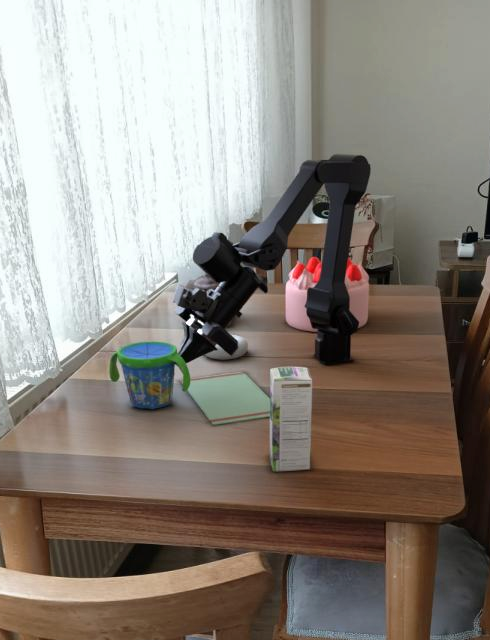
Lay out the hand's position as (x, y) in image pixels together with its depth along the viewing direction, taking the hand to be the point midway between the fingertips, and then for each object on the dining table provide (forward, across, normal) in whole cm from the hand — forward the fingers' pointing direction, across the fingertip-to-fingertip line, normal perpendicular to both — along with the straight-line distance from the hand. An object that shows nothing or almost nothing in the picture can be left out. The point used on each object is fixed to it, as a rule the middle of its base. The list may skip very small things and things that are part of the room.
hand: (176, 365), depth 141 cm
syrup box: (0, +33, +10) cm, 35 cm away
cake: (-30, -33, +39) cm, 59 cm away
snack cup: (+8, 0, +1) cm, 8 cm away
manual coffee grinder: (-13, -48, +22) cm, 55 cm away
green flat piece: (-2, +3, +11) cm, 12 cm away
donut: (-8, -21, +17) cm, 28 cm away
